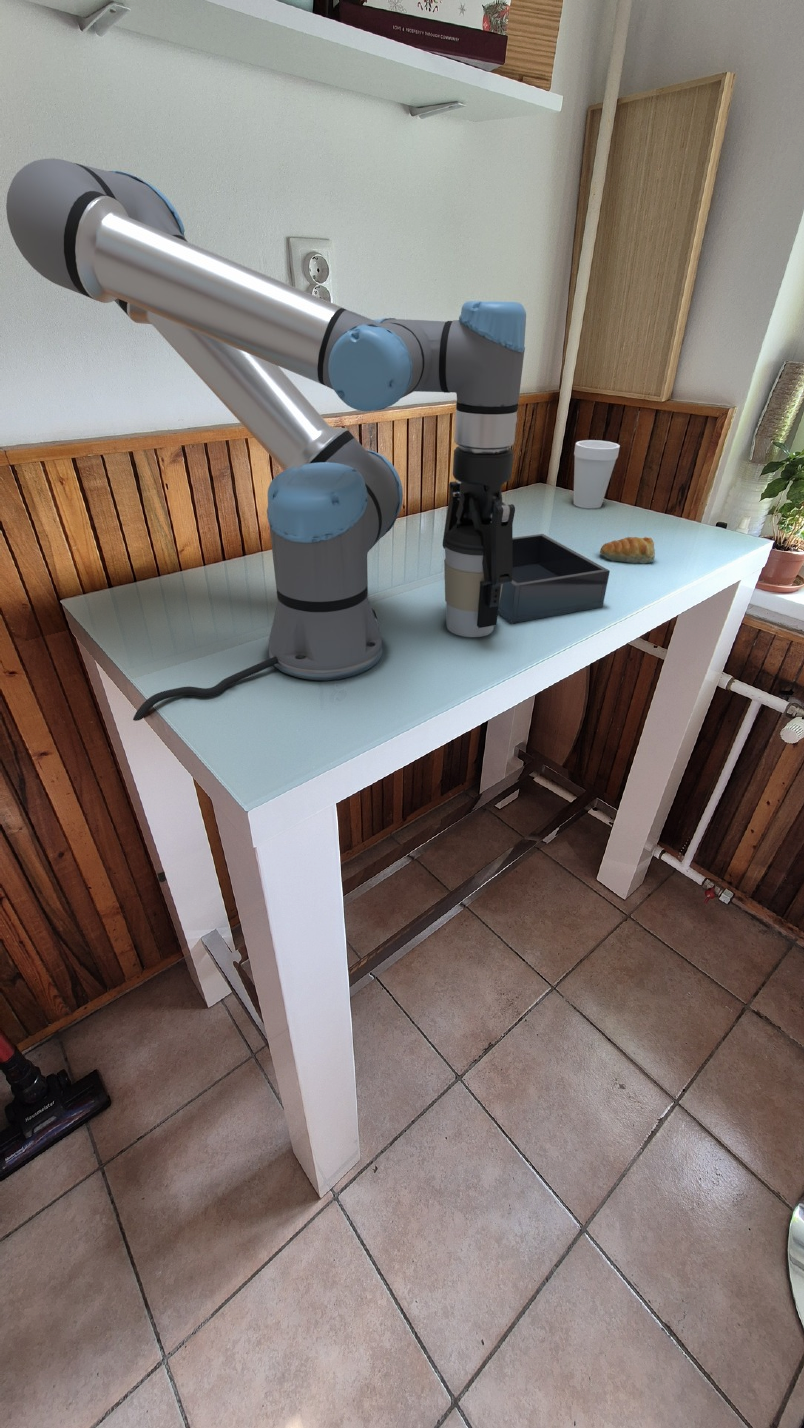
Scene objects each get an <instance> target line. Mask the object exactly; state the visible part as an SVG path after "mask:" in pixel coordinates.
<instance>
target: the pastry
mask: <svg viewBox="0 0 804 1428" xmlns="http://www.w3.org/2000/svg"><path fill="white" fill-rule="evenodd" d="M599 554H600V555H602V556H603V557H604V558H606V559H608V560H610V561H613V562H622V563H629V564H637V563H640V564H649V563H653V562H652V561H654V559H655V556H656V550H655V542H654V540H653V538H652V537H647V536H644V537H637V536H627V537H624V538H621V539H618V540H615V539H613V540H612V541H609V542H607V543H604V544H603V545H601V548H600V550H599Z"/></svg>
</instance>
